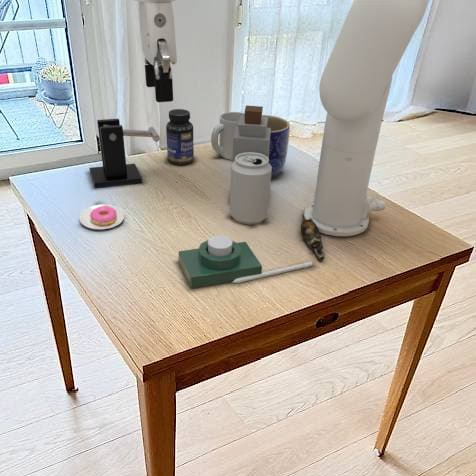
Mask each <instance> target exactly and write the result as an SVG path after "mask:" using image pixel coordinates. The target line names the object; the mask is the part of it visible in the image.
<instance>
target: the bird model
mask: <svg viewBox="0 0 476 476" xmlns="http://www.w3.org/2000/svg"><path fill="white" fill-rule="evenodd" d="M302 217H303V220H302V222H301V224H300V228H299V229H300V234H301V236H302V239H303V240H304V241H305V243H306V244H307V245H308V246H309V248H311V250H312V252H313V253H315V255H316V257H317V259H319V260H320V261H322V260H324V259H325V253H324V251H323V249H324V246H323V242H322V241H323V240H322V236H321V233H320V232H319V230H318V227H317V226H316V224H315V223H314V221H312V220H307V219H305V217H304V214H303V215H302Z"/></svg>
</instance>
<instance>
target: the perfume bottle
mask: <svg viewBox="0 0 476 476" xmlns="http://www.w3.org/2000/svg"><path fill="white" fill-rule="evenodd" d="M244 107H245V108H244V113H245V116H244V115H240V118H239V122H238V126H237V127H236V130H235V133H234V137H233V160H231V161H232V163H233V162H234V161H235V157H236V156H237V155H238V154H241V153H246V152H255V153H260V154H263V155H265V156H267V157H268V159H269V146H270V133H271V128H266V127H267V121H268V117H262V115H263V110H264V106H259V105H245V106H244ZM232 163H231V164H232Z"/></svg>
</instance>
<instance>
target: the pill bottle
mask: <svg viewBox="0 0 476 476" xmlns="http://www.w3.org/2000/svg"><path fill="white" fill-rule="evenodd" d="M168 118H169V121H168V122H167V123H166V125H165V133H166V155H167V156H166V157H167V161H168V162H169V163H171V164H173V165H178V166H185V165H189V164H191V163H192V162H193V161H194V159H195V158H194V157H195V156H194V155H195V154H194V148H195V147H194V125H193V123H192V122H191V121H190V119H191V112H190V111H189V110H187V109H184V108H183V109H182V108H175V109H171V110H169V111H168Z"/></svg>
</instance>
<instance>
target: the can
mask: <svg viewBox="0 0 476 476" xmlns="http://www.w3.org/2000/svg"><path fill="white" fill-rule="evenodd" d="M268 162H269V159H268V157H267V156H265V155H263V154H260V153H255V152H246V153H241V154H238V155H237V156H236V157H235V161H234V162H233V163H231V166H230V187H229V189H230V191H229V192H230V194H229V215H230V216H231V218H233V219H234V220H235V221H236V222H238V223H240V224H244V225H257V224H260V223H261V222H262V221H264V220H266V219H267V217H268V216H269V205H270V194H271V182H272V177H271V171H272V166H271V165H270V164H269V163H268Z"/></svg>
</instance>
